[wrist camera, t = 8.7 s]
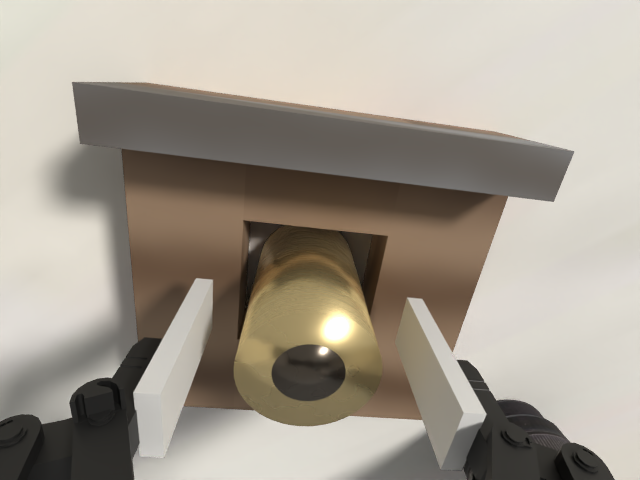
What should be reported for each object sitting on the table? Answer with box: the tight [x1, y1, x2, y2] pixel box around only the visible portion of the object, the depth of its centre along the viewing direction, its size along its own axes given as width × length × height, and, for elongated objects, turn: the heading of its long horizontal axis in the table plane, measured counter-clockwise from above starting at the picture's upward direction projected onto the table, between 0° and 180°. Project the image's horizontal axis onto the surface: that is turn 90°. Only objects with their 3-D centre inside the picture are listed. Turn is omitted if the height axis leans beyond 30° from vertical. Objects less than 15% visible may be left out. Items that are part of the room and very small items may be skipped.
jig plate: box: [72, 82, 574, 420], centre depth 19 cm, size 18×18×6 cm
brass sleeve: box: [234, 225, 382, 426], centre depth 17 cm, size 6×6×9 cm
